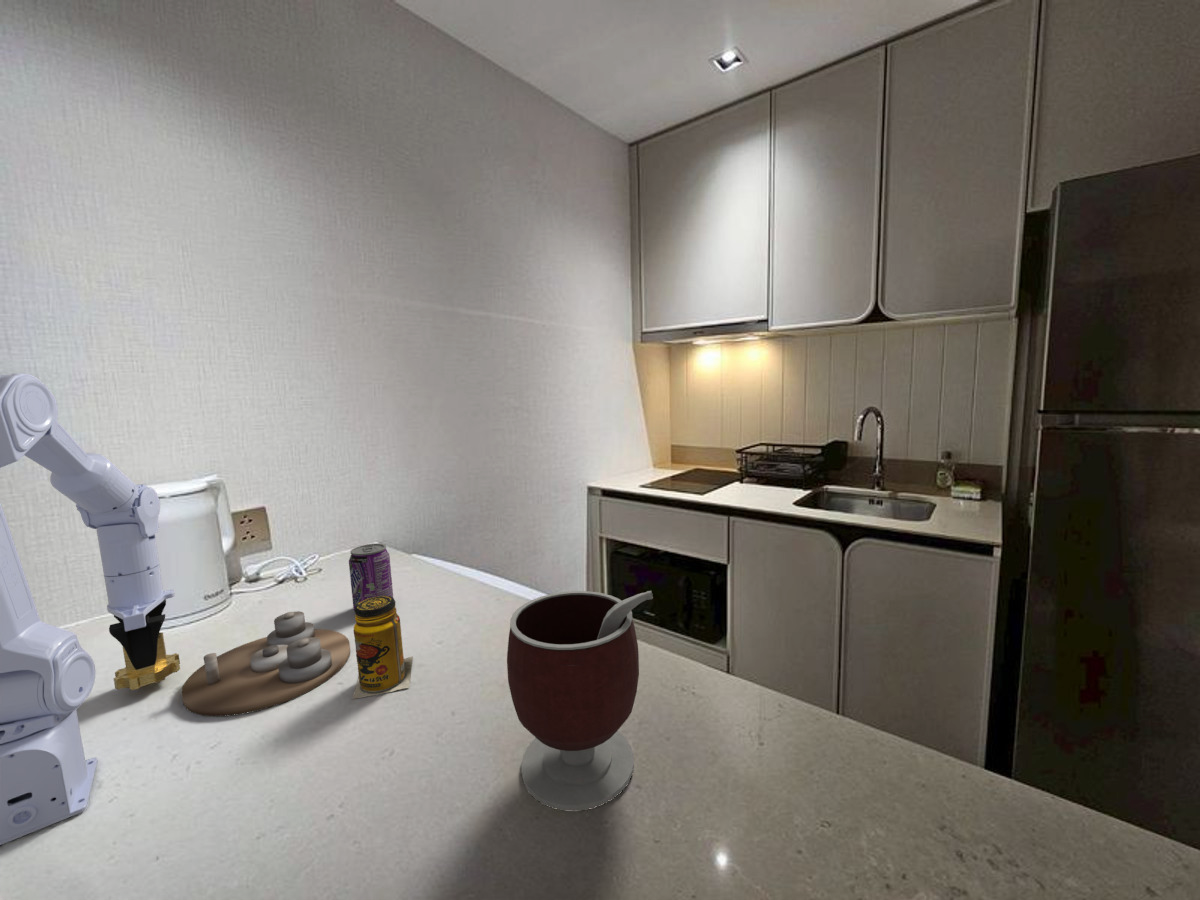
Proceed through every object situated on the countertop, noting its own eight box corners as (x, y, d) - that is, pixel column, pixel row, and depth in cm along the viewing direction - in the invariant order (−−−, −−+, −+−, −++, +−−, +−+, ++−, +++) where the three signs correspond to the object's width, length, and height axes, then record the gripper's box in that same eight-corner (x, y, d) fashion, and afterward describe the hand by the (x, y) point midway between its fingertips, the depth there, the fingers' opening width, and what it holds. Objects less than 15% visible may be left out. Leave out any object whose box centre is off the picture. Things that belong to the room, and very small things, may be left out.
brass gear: (180, 675, 71) (174, 640, 70) (113, 696, 66) (106, 658, 66) (180, 657, 76) (175, 623, 75) (118, 675, 71) (112, 639, 71)
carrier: (366, 671, 73) (363, 634, 72) (183, 740, 60) (176, 695, 59) (333, 623, 89) (329, 593, 88) (182, 669, 76) (176, 633, 75)
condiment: (352, 700, 66) (343, 616, 65) (362, 667, 74) (354, 592, 73) (409, 689, 69) (402, 607, 67) (413, 658, 77) (406, 584, 75)
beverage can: (354, 605, 97) (348, 546, 95) (393, 597, 100) (388, 540, 98) (353, 619, 90) (346, 557, 89) (394, 611, 93) (389, 550, 92)
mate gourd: (495, 812, 48) (482, 618, 45) (533, 717, 61) (525, 564, 59) (655, 826, 46) (650, 623, 43) (657, 725, 59) (654, 566, 57)
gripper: (169, 574, 66) (182, 669, 68) (170, 551, 77) (182, 632, 79) (95, 589, 62) (111, 690, 63) (107, 562, 73) (121, 648, 74)
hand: (146, 659), depth 71 cm, fingers closed on brass gear, 4 cm apart
